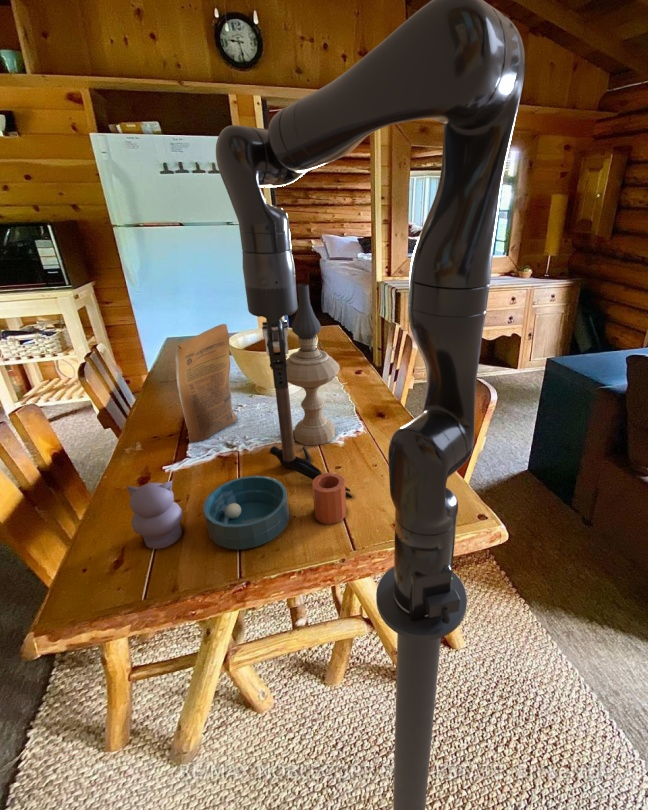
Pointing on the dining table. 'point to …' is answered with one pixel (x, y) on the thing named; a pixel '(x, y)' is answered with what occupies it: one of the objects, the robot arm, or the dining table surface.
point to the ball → (233, 510)
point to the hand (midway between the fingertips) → (281, 384)
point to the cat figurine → (155, 514)
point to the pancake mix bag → (205, 382)
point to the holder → (329, 498)
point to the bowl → (247, 512)
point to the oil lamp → (310, 374)
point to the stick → (285, 423)
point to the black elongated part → (300, 464)
